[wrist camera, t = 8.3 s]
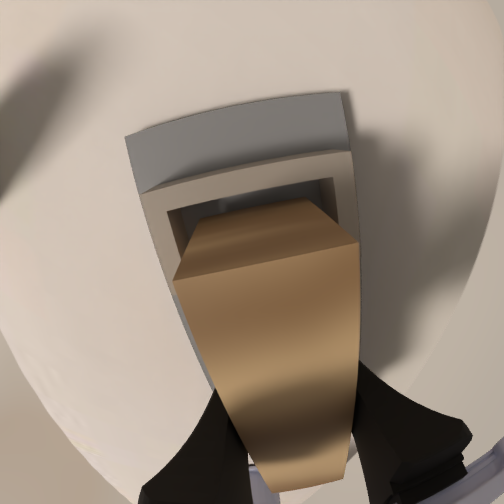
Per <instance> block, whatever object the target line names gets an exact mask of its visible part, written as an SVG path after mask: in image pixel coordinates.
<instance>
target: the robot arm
mask: <svg viewBox="0 0 504 504" xmlns="http://www.w3.org/2000/svg"><path fill="white" fill-rule="evenodd" d="M351 432H352V434H353V437H354V440H355V443H356V447H357V450H358V454H359V458H360V461H361V465H362V469H363V473H364V478H365V482H366V486H367V490H368V496H369V502H370V504H490V503H492V502H493V501H494V500H495V499H497V498H498V497H499V496H500V495H501V494H503V493H504V437H503V438H502V439H500V440H499V441H498V442H497V443H496V445H494V447H493V448H492V449H491V450H490V451H488V452H487V453H486V454H484V455H483V456H481V457H480V458H479V459H477V460H476V461H474V462H473V463H471V464H470V465H468V466H467V467H465V466H464V464H463V462H462V461H463V460H464V457H463V455H462V453H461V452H462V451H463V450H464V449H465V448H466V447H467V445H468V444H469V443H470V441H471V440H472V436H473V435H472V433H471V432H470V430H469V428H468V427H467V425H466V424H465V423H464V422H463V421H462V420H461V419H457V418H454V417H450V416H447V415H444V414H441V413H438V412H436V411H433V410H431V409H429V408H426V407H424V406H422V405H420V404H418V403H416V402H414V401H412V400H411V399H409V398H407V397H405V396H404V395H402V394H401V393H399V392H397V391H396V390H394V389H393V388H392V387H390V386H389V385H388V384H386V383H385V382H384V381H382V380H381V379H380V378H379V377H377V376H376V375H375V374H374V373H373V372H372V371H370V370H369V369H368V368H367V367H366V366H365V365H364V364H363V363H362V362H361V361H360V360H358V375H357V387H356V397H355V407H354V415H353V423H352V431H351ZM138 504H280V496H279V493H271V491H270V489H269V488H268V486H267V484H266V483H265V481H264V479H263V478H262V476H261V474H260V473H259V471H258V469H257V467H256V466H249V465H248V451H247V449H246V448H245V446H244V444H243V442H242V440H241V438H240V436H239V434H238V432H237V431H236V429H235V427H234V425H233V423H232V421H231V419H230V417H229V415H228V413H227V411H226V409H225V407H224V405H223V402H222V400H221V398H220V396H219V394H218V392H217V390H216V388H215V389H214V391H213V394H212V396H211V398H210V401H209V403H208V405H207V407H206V409H205V411H204V413H203V415H202V417H201V419H200V420H199V422H198V424H197V426H196V427H195V429H194V431H193V432H192V434H191V435H190V437H189V438H188V440H187V441H186V442H185V444H184V445H183V446H182V448H181V449H180V450H179V451H178V453H177V454H176V455H175V456H174V457H173V458H172V459H171V460H170V462H169V463H168V464H167V465H166V466H165V467H164V468H163V469H162V470H161V471H160V472H159V473H158V474H156V475H155V476H154V477H153V478H152V479H151V480H149V481H148V482H147V483H146V484H145V485H143V486H142V489H141V492H140V495H139V500H138Z"/></svg>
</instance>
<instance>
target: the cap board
mask: <svg viewBox="0 0 504 504" xmlns="http://www.w3.org/2000/svg"><path fill="white" fill-rule="evenodd" d="M125 142H126V146H127V150H128V155H129V159H130V163H131V167H132V171H133V175H134V179H135V182H136V186H137V190H138V193H139V197H140V201H141V204H142V208H143V211H144V214H145V218H146V221H147V224H148V228H149V231H150V234H151V237H152V240H153V243H154V246H155V249H156V252H157V255H158V258H159V261H160V264H161V267H162V270H163V273H164V276H165V278H166V281H167V284H168V287H169V289H170V292H171V295H172V297H173V300H174V303H175V305H176V308H177V310H178V313H179V316H180V318H181V321H182V323H183V325H184V328H185V330H186V333H187V335H188V338H189V340H190V342H191V345H192V347H193V349H194V352H195V354H196V356H197V358H198V361H199V363H200V365H201V367H202V370H203V372H204V374H205V376H206V378H207V380H208V382H209V385H210V387H211V389H212V391H214V389H215V385H214V383H213V381H212V379H211V377H210V374H209V372H208V370H207V368H206V365H205V363H204V361H203V359H202V356H201V354H200V352H199V349H198V347H197V344H196V342H195V340H194V337H193V335H192V332H191V330H190V327H189V325H188V322H187V320H186V317H185V315H184V312H183V309H182V307H181V304H180V302H179V299H178V296H177V293H176V291H175V288H174V285H173V282H172V280H173V278H174V275H175V273H176V271H177V268H178V266H179V264H180V261H181V259H182V257H183V255H184V252H185V250H186V248H187V246H188V243H189V241H190V239H191V237H192V235H193V232H194V230H195V228H196V226H197V224H198V222H199V219H200V218H204V217H209V216H213V215H218V214H222V213H227V212H231V211H236V210H240V209H245V208H250V207H255V206H260V205H265V204H269V203H274V202H280V201H285V200H290V199H295V198H300V197H306V198H307V199H309V200H310V201H311V202H312V203H313V204H315V205H316V206H317V207H318V208H319V209H321V210H322V211H323V212H324V213H325V214H327V215H328V216H329V217H330V218H331V219H332V220H334V221H335V222H336V223H337V224H338V225H339V226H341V227H342V228H343V229H344V230H345V231H346V232H347V233H349V234H350V235H351V236H352V237H353V238H354V239H355V240H356V241H358V242H359V263H360V338H361V248H360V231H359V217H358V205H357V195H356V185H355V177H354V169H353V161H352V154H351V150H350V144H349V138H348V132H347V126H346V120H345V115H344V110H343V104H342V100H341V95H340V92H335V93H321V94H310V95H301V96H292V97H284V98H277V99H270V100H264V101H258V102H252V103H247V104H241V105H236V106H231V107H227V108H222V109H218V110H213V111H209V112H205V113H201V114H197V115H193V116H189V117H185V118H182V119H178V120H175V121H171V122H168V123H165V124H161V125H158V126H155V127H152V128H149V129H146V130H143V131H140V132H137V133H134V134H131V135H128V136H126V137H125ZM359 357H360V340H359Z"/></svg>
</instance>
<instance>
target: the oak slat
mask: <svg viewBox="0 0 504 504" xmlns="http://www.w3.org/2000/svg"><path fill="white" fill-rule="evenodd" d="M172 282H173V285H174V288H175V291H176V293H177V296H178V299H179V302H180V304H181V307H182V309H183V312H184V315H185V317H186V320H187V322H188V325H189V327H190V330H191V332H192V335H193V337H194V340H195V342H196V344H197V347H198V349H199V352H200V354H201V356H202V359H203V361H204V363H205V365H206V368H207V370H208V372H209V374H210V377H211V379H212V381H213V383H214V385H215V388H216V390H217V392H218V394H219V396H220V398H221V400H222V402H223V405H224V407H225V409H226V411H227V413H228V415H229V417H230V419H231V421H232V423H233V425H234V427H235V429H236V431H237V432H238V434H239V436H240V438H241V440H242V442H243V444H244V446H245V448H246V449H247V451H248V453H249V455H250V457H251V458H252V460H253V462H254V464H255V466H256V467H257V469H258V471H259V473H260V474H261V476H262V478H263V479H264V481H265V483H266V484H267V486H268V488H269V489H270V491H271V493H279V492H285V491H291V490H297V489H302V488H307V487H312V486H317V485H321V484H325V483H329V482H333V481H337V480H340V479H343V477H344V472H345V467H346V462H347V456H348V450H349V444H350V437H351V431H352V423H353V415H354V407H355V397H356V387H357V375H358V360H359V340H360V263H359V242H358V241H356V240H355V239H354V238H353V237H352V236H351V235H350V234H349V233H347V232H346V231H345V230H344V229H343V228H342V227H341V226H339V225H338V224H337V223H336V222H335V221H334V220H332V219H331V218H330V217H329V216H328V215H327V214H325V213H324V212H323V211H322V210H321V209H319V208H318V207H317V206H316V205H315V204H313V203H312V202H311V201H310V200H309V199H307V198H306V197H300V198H295V199H290V200H285V201H280V202H274V203H269V204H265V205H260V206H255V207H250V208H245V209H240V210H236V211H231V212H227V213H222V214H218V215H213V216H209V217H204V218H200V219H199V222H198V224H197V226H196V228H195V230H194V232H193V235H192V237H191V239H190V241H189V243H188V246H187V248H186V250H185V252H184V255H183V257H182V259H181V261H180V264H179V266H178V268H177V271H176V273H175V275H174V278H173V280H172Z"/></svg>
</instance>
